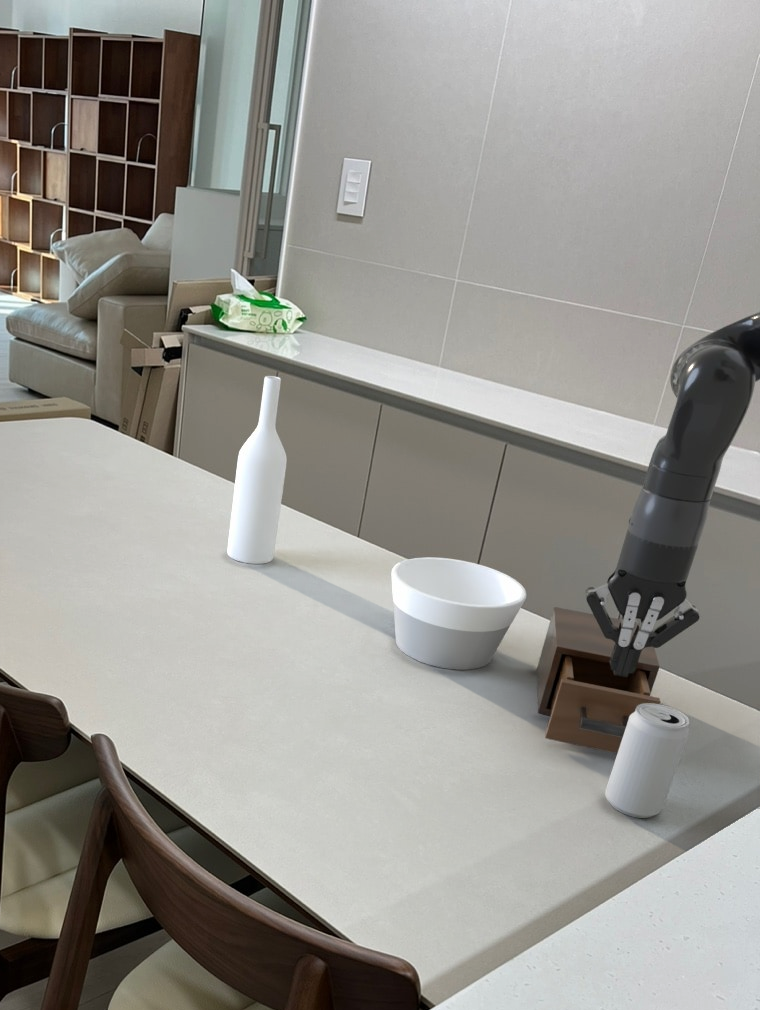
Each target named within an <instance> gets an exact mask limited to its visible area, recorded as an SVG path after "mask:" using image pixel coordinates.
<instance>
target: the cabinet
mask: <svg viewBox="0 0 760 1010" xmlns="http://www.w3.org/2000/svg"><path fill="white" fill-rule="evenodd" d="M609 617H610V616H609ZM610 619H611V621H612V623H613V625H614V626H616V627H619V622H620V618H617V617H616V618H615V617H610ZM636 625H637V621H635V624H634V628H633V630H632V634H631V638H630V642H631V639H632V635H633V632H634V630H635V627H636ZM614 645H615V642H614V641H613V640H611V639H607V638H605V636H604V634H603V632H602V630H601V628H600V626H599V624H598V622H597V620H596V619H595V617H594V615H593V613H588V612H584V611H579V610H573V609H568V608H562V607H557V606H553V610H552V613H551V617H550V620H549V623H548V628H547V631H546V635H545V638H544V641H543V646H542V649H541V652H540V656H539V659H538V663H537V667H536V687H537V689H536V690H537V691H536V692H537V694H536V695H537V714H540V715H545V716H549V717H550V716H551V691H552V687H553V684H554V681H555V677H556V674H557V670H558V667H559V663H560V660H561V656H562V654H565V655H571V656H576V657H581V658H586V659H591V660H596V661H601V662H606V663H610V658H611V655H612V651H613V648H614ZM656 651H657V650H656V648H654V647H646V648H644V649H643V650H642V651H641V654H640V657H639V660H638V663H637V667H636V668H637V669H642V670H645V673H646V677H647V681H648V685H649V689H650V693H651V694H652V692H653V688H654V685H655V682H656V680H657V676H658V673H659V670H660V662H659V659H658V655H657V652H656Z"/></svg>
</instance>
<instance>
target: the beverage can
mask: <svg viewBox="0 0 760 1010" xmlns="http://www.w3.org/2000/svg"><path fill="white" fill-rule="evenodd" d="M689 725H690V719H689V717H688V716H687V715H686V714H684V713H683V712H681V711H680V710H678V709H676V708H673V707H671V706H668V705H664V704H661V703H660V704H655V703H644V704H640V705H638V706H637V707H636V710H635V712H634V713H632V714H631V715H630V717H629V720H628V723H627V726H626V729H625V732H624V735H623V738H622V741H621V744H620V747H619V751H618V753H616V756H615V757H616V758H615V760H614V762H613V766H612V769H611V772H610V775H609V779H608V781H607V785H606V787H605V791H604V795H605V799H606V800H607V801H608V802H609V804H610V805H611V807H612V808H614V809H615V810H617V811H618V812H620V813H621V814H624V815H627V816H629V817H634V818H639V819H647V818H652V817H653V816H657V815H658V814H660V813H661V812H662V811H663V808H664V806H665V803H666V800H667V797H668V795H669V792H670V789H671V786H672V783H673V781H674V778H675V774H676V773H677V770H678V766H679V764H680V761H681V758H682V755H683V753H684V750H685V747H686V745H687V742H688V739H689V737H690V729H689Z"/></svg>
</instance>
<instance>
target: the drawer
mask: <svg viewBox="0 0 760 1010" xmlns="http://www.w3.org/2000/svg"><path fill="white" fill-rule="evenodd" d="M651 694H652V692H651V693H650V689H649V685H648V681H647V677H646V673H645V670H642V669H637V668H636V670H635V671H634V672H633V673H628V676H627V677H622V676H617V675H614V672H613V670H611V666H610V663H606V662H601V661H596V660H591V659H586V658H581V657H576V656H571V655H565V654H562V656H561V660H560V663H559V667H558V670H557V674H556V677H555V681H554V684H553V687H552V691H551V716H549V720H548V724H547V726H546V730H545V739H547V740H550V741H551V740H552V741H556V742H561V743H566V744H571V745H576V746H579V747H585V748H589V749H594V750H599V751H604V752H608V753H613V754H618V751H619V747H620V744H621V741H622V738H623V735H624V732H625V729H626V726H627V723H628V720H629V717H630V715H631V714H632V713H634V712H635V710H636V707H637V706H638V705H640V704H644V703H655V704H661V699H660V697H657V696H652V695H651Z"/></svg>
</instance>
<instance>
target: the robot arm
mask: <svg viewBox="0 0 760 1010" xmlns="http://www.w3.org/2000/svg"><path fill="white" fill-rule="evenodd" d="M758 381H760V311H758V312H755V313H753V314H750V315H747V316H745V317H743V318H740V319H739V320H736V321H734V322H732V323H729V324H727V325H725V326H722V327H721V328H719V329H716V330H714V331H712V332H710V333H708V334H707V335H705V336H703V337H701V338H699V339H698V340H696V341H695V342H693V343H691V344H690V345H689V346H688V347H686V348H685V349H684V350H683V351H681V353H680V354H679V355H678V356H677V358H676V359H675V361H674V363H673V365H672V368H671V370H670V375H669V383H670V384H669V385H670V388H671V391H672V393H673V395H674V396H675V397H676V401H675V406H674V408H673V412H672V415H671V418H670V421H669V424H668V427H667V430H666V434H665V435H663V436H662V437H660V439H658V441H657V443H656V444H655V447H654V448H653V452H652V454H651V458H650V461H649V463H648V466H647V471H646V474H645V478H644V480H643V484H642V487H641V489H640V493H639V495H638V497H637V499H636V502H635V504H634V506H633V509H632V512H631V514H630V516H629V519H628V526H627V530H626V534H625V537H624V540H623V544H622V546H621V550H620V554H619V556H618V561H617V564H616V567H615V569H614V571H613V572H612V573H611V575H609V576H608V578H607V582H606V583H603V584H602V585H599V586H598V587H593V586H590V587H587V588H586V589H585V592H584V593H585V599H586V602H587V605H588V606H589V609H590V610H591V612H592V613H591V614H593V615H594V617H595V619H596V620H597V622H598V624H599V626H600V628H601V630H602V632H603V634H604V636H605V638H607V639H611V640H613V641H614V642H615V645H614V648H613V651H612V655H611V658H610V666H611V670H613V672H614V675H617V676H622V677H627V676H628V673H633V672H634V671H635V670H636V667H637V663H638V660H639V657H640V654H641V651H642V650H643V649H644V648H646V647H654V648H655V649H659V648H661V647H662V646H664V645H665V644H666V643H668V642H669V641H671V640H672V639H674V638H675V637H677V636H678V635H679V634H681V633H683V632H685V630H687V629H689V628H690V627H691V626H693V625H694V624H696V623H697V622H698V621H699V620H700V618H701V617H700V614H699V611H698V609H697V607H696V606H695V605H693V604H691V603H690V602H689V601H688V599H687V596H688V592H687V588H686V584H687V581H688V578H689V574H690V571H691V569H692V566H693V562H694V559H695V556H696V553H697V550H698V547H699V544H700V541H701V538H702V535H703V532H704V529H705V526H706V523H707V518H708V513H709V506H710V504H711V499H712V496H713V493H714V490H715V487H716V484H717V481H718V478H719V475H720V472H721V469H722V463H723V461H724V456H725V455H726V454H727V451H728V450H729V448H730V446H731V445H732V443H733V442H734V439H735V437H736V435H737V433H738V431H739V429H740V427H741V425H742V424H743V421H744V419H745V418H746V414H747V413H748V410H749V408H750V405H751V402H752V398H753V396H754V392H755V387H756V382H758ZM609 595H610V596H611V598H612V601H613V603H614V605H615V608H616V610H617V612H618V613H619V619H620V622H619V627H616V626H614V625H613V623H612V621H611V619H610V615H609V613H608V611H607V609H606V607H605V606H606V605H607V604H608V602H609V600H608V596H609ZM672 611H673V616H671V617H670V618H668V619H667V620H666V621H664V622H663V623H661V624H660V625H659V626H656V628H655V627H654V626H655V624H656V622H657V621H660V620H661V619H663V618H664V617H665V616H667V615H668V614H669V613H670V612H672ZM636 619H637V621H636ZM635 622H637V625H636V627H635V630H634V632H633V635H632V639H631V642H630V638H631V634H632V630H633V628H634V624H635Z"/></svg>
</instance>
